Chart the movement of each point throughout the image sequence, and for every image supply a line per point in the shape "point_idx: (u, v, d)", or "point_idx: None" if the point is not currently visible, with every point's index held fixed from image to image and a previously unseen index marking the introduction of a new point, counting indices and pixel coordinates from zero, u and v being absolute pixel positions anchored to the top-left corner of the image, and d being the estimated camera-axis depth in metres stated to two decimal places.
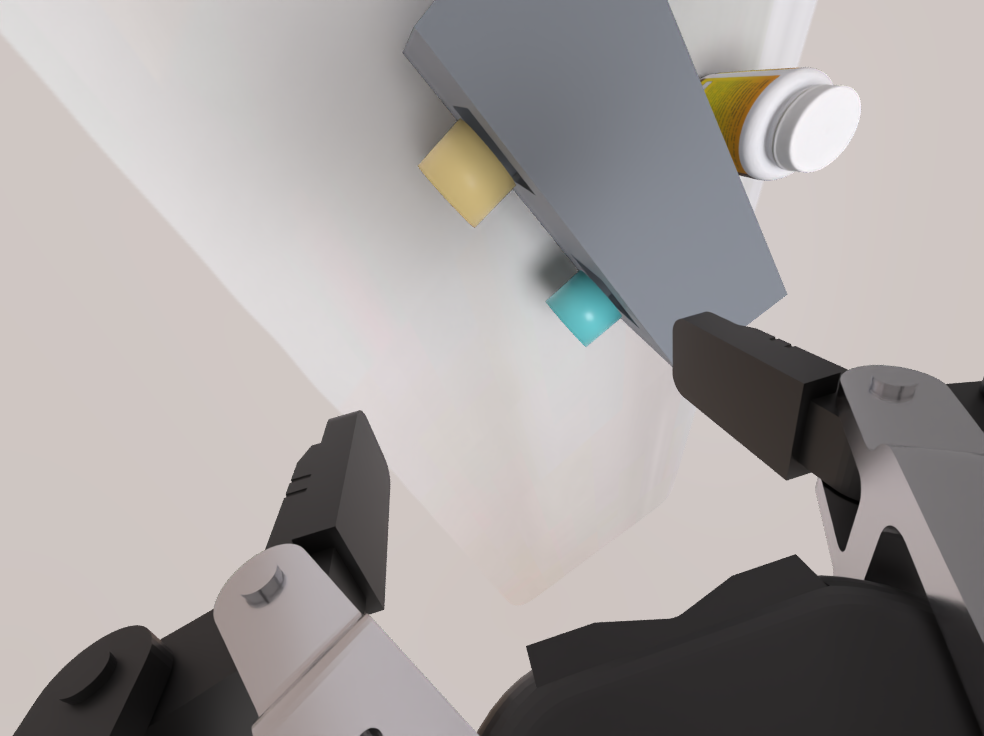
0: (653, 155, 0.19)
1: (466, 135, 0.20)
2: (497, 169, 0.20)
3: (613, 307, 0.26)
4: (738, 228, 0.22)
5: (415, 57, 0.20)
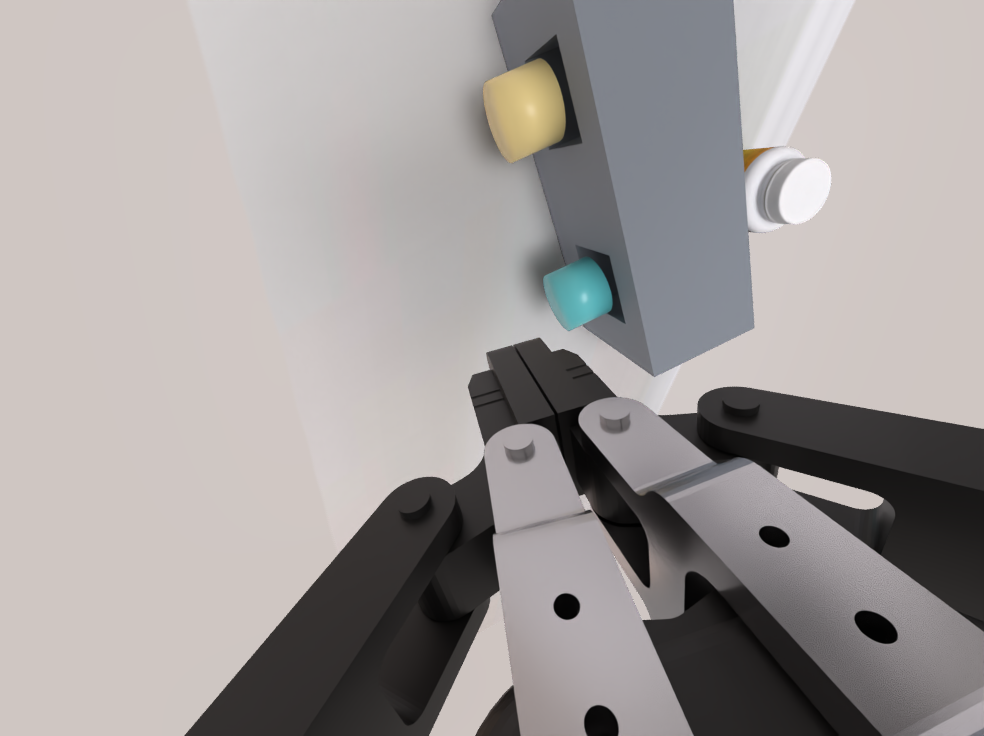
0: (691, 137, 0.22)
1: (541, 66, 0.22)
2: (558, 105, 0.22)
3: (609, 292, 0.28)
4: (734, 240, 0.25)
5: (513, 1, 0.23)
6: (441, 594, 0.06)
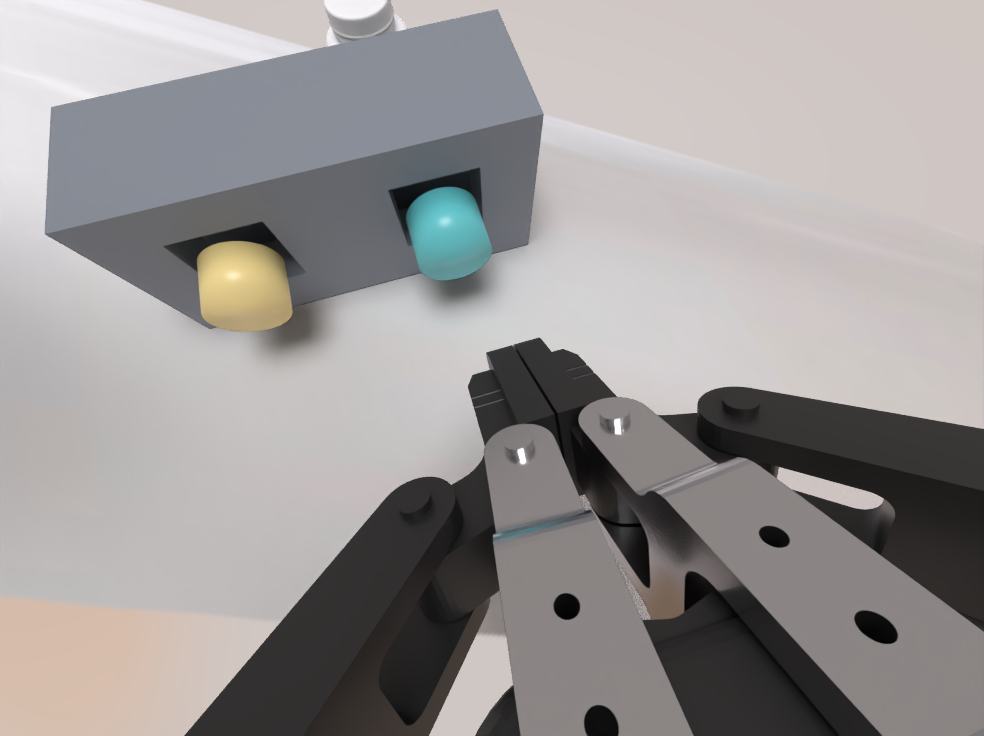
0: (260, 105, 0.21)
1: (197, 265, 0.22)
2: (226, 246, 0.21)
3: (436, 190, 0.22)
4: (380, 48, 0.22)
5: (173, 298, 0.25)
6: (441, 594, 0.06)
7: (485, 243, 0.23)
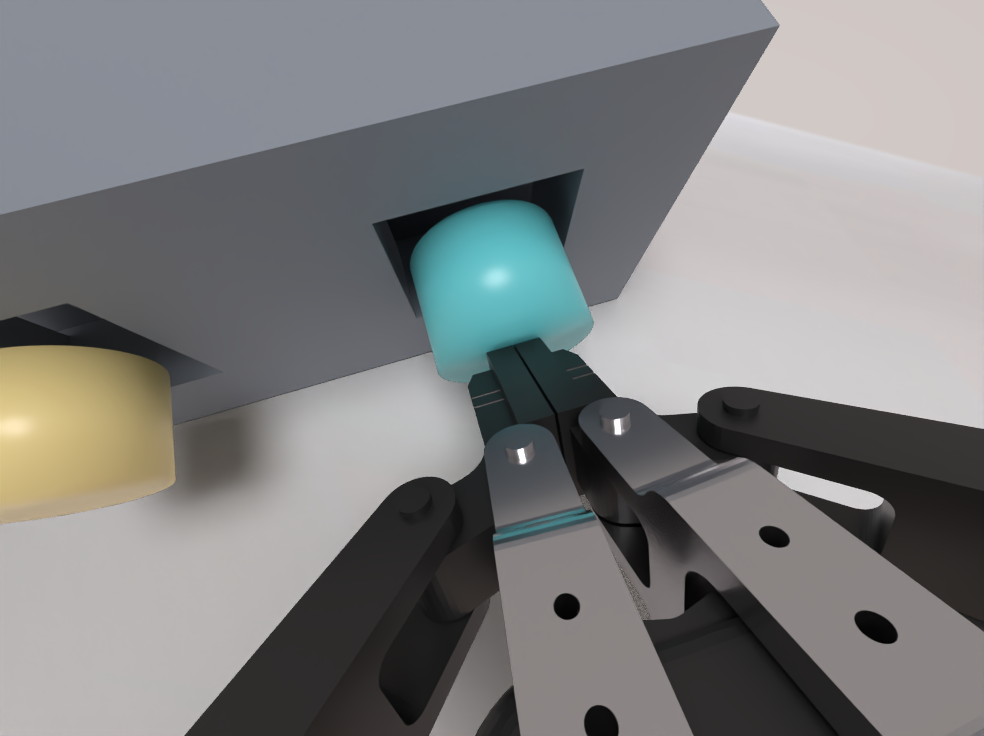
0: (47, 15, 0.08)
1: None
2: None
3: (478, 208, 0.10)
4: None
5: None
6: (441, 594, 0.06)
7: (583, 322, 0.10)
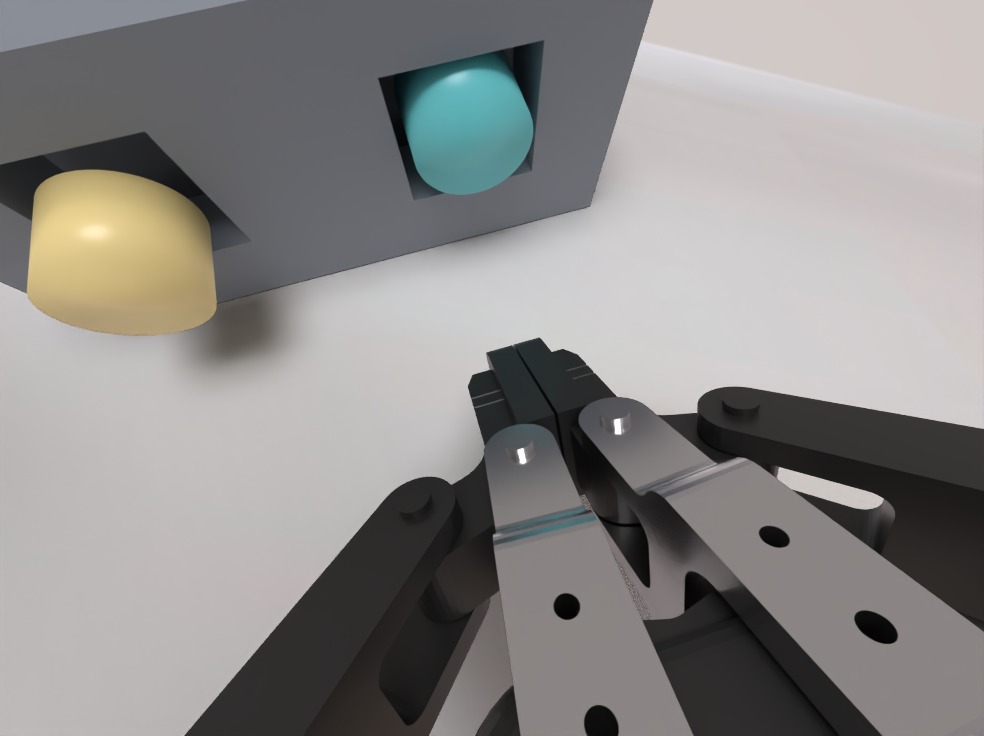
0: None
1: None
2: (78, 179, 0.12)
3: None
4: None
5: (26, 281, 0.15)
6: (441, 594, 0.06)
7: (524, 118, 0.14)
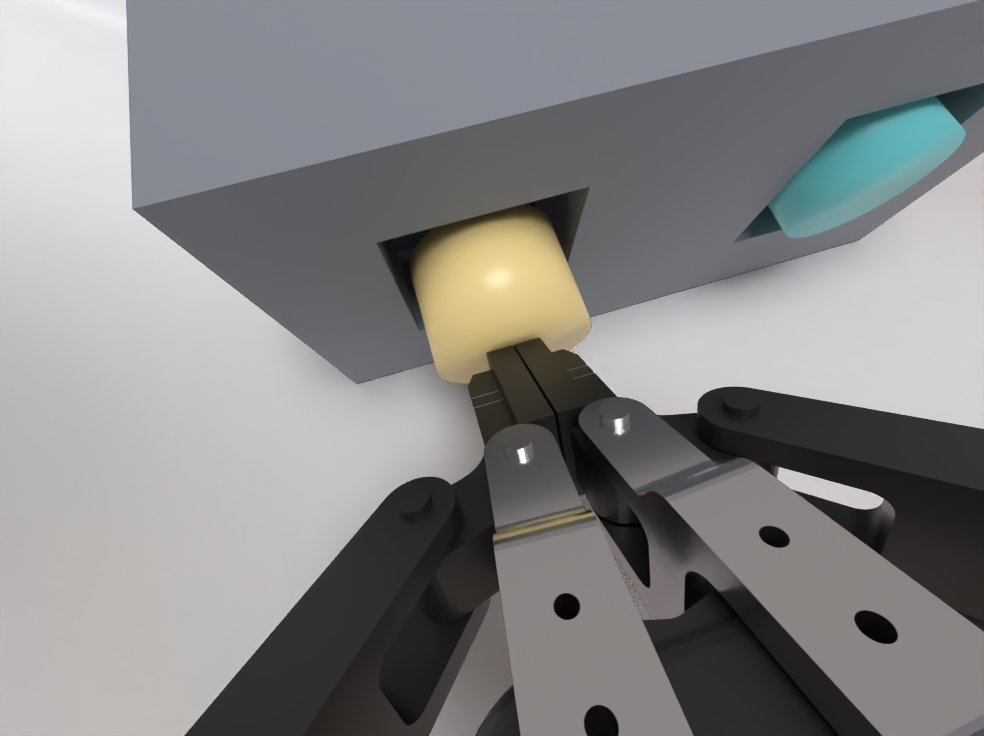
0: None
1: (422, 254, 0.10)
2: (496, 213, 0.10)
3: None
4: None
5: (332, 344, 0.13)
6: (441, 594, 0.06)
7: (941, 158, 0.12)
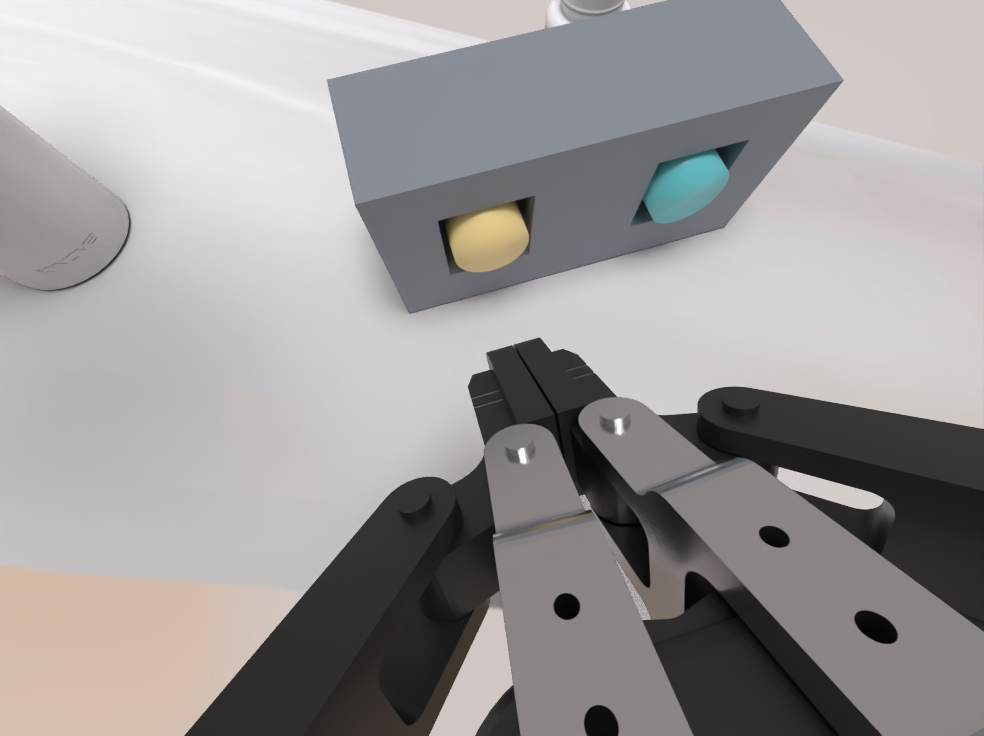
0: (541, 75, 0.20)
1: None
2: None
3: None
4: (652, 18, 0.21)
5: (404, 279, 0.24)
6: (441, 594, 0.06)
7: (724, 180, 0.23)
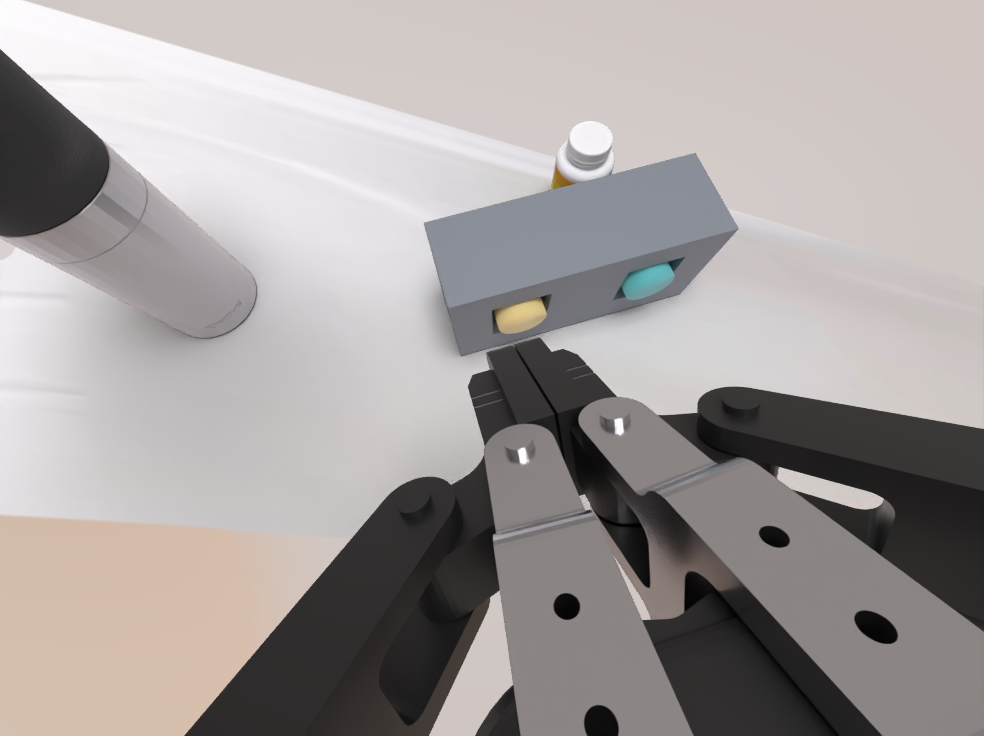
0: (556, 221, 0.33)
1: None
2: None
3: None
4: (625, 181, 0.34)
5: (463, 339, 0.37)
6: (441, 594, 0.06)
7: (672, 277, 0.36)
